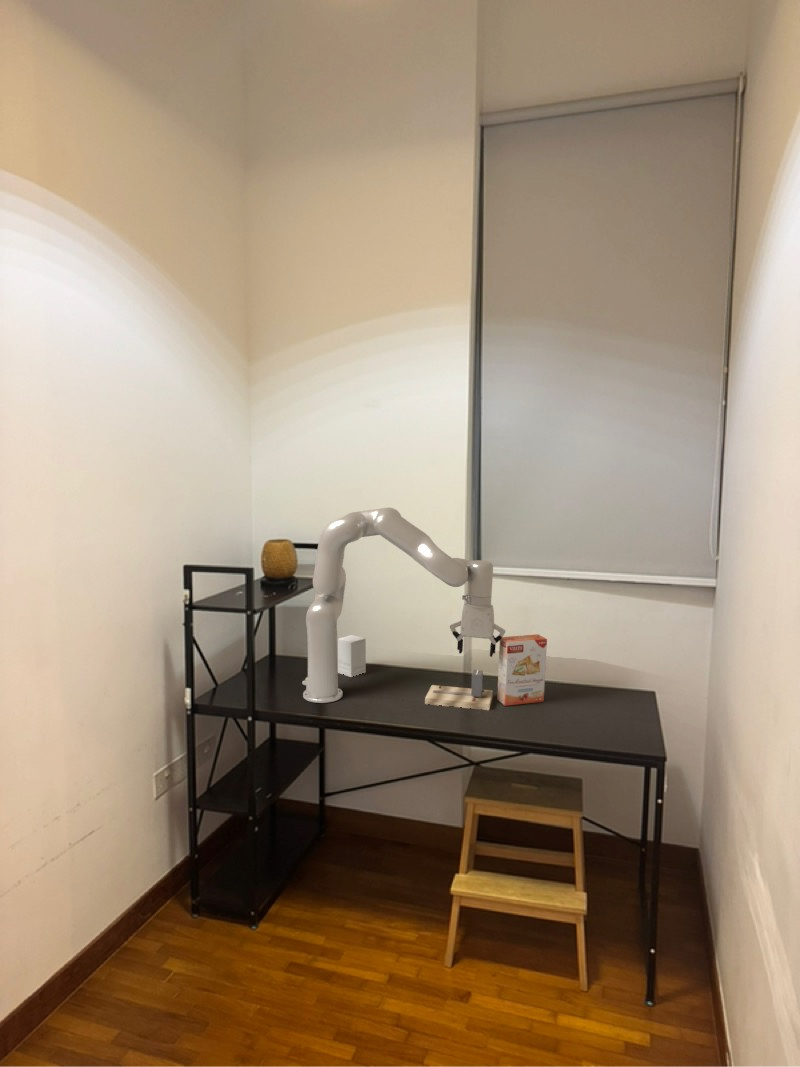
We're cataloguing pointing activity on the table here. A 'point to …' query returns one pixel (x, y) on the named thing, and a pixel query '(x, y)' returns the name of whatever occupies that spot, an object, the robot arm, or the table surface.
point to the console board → (458, 697)
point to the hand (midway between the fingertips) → (476, 653)
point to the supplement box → (351, 655)
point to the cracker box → (521, 669)
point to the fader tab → (477, 683)
